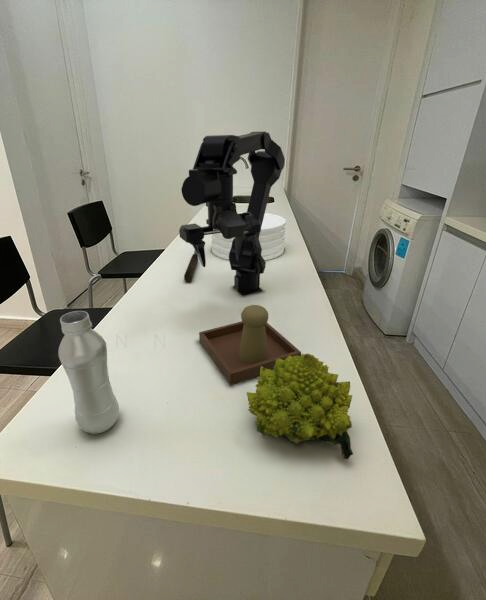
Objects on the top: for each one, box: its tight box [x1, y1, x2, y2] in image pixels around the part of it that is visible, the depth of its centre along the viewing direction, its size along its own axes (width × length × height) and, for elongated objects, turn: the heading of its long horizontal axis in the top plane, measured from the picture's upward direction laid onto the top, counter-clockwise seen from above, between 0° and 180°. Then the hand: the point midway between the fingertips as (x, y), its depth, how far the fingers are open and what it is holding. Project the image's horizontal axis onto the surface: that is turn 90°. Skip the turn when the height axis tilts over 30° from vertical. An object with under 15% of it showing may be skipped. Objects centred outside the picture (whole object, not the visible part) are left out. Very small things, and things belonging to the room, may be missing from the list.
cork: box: [239, 304, 269, 364], centre depth 65 cm, size 6×6×11 cm
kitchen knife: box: [183, 250, 199, 283], centre depth 118 cm, size 36×2×5 cm, turn 175°
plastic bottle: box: [57, 310, 120, 435], centre depth 49 cm, size 6×7×20 cm
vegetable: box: [246, 353, 354, 461], centre depth 51 cm, size 15×16×15 cm
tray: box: [198, 320, 302, 386], centre depth 69 cm, size 16×16×3 cm
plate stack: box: [211, 211, 287, 261], centre depth 128 cm, size 28×28×12 cm
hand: (221, 263), depth 81 cm, fingers open, 9 cm apart
